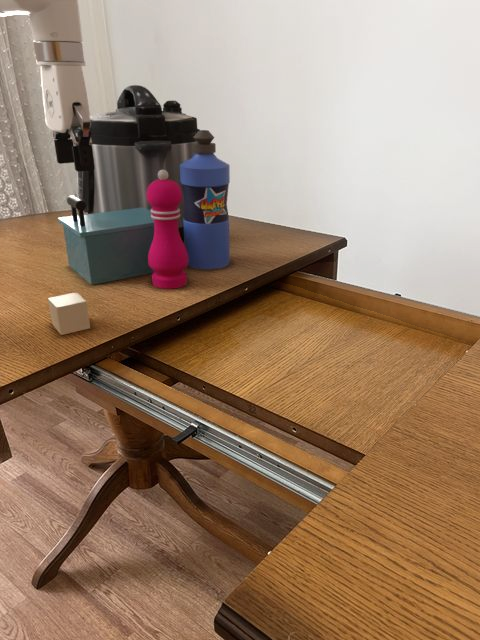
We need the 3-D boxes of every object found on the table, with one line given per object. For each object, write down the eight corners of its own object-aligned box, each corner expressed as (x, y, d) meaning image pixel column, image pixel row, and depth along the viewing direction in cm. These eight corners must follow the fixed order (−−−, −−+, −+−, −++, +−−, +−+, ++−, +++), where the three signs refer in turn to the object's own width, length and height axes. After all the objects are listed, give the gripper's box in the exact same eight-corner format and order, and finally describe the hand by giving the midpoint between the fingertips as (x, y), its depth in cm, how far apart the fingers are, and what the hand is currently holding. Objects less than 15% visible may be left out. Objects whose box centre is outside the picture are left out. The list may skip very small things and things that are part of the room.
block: (61, 335, 80) (56, 307, 78) (52, 324, 83) (47, 297, 81) (90, 328, 82) (86, 301, 80) (80, 318, 85) (76, 292, 83)
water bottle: (237, 265, 109) (237, 132, 98) (194, 272, 105) (188, 133, 94) (219, 253, 117) (217, 127, 105) (178, 258, 113) (171, 128, 101)
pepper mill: (195, 278, 102) (191, 167, 93) (180, 292, 96) (173, 174, 87) (160, 274, 104) (152, 165, 94) (142, 287, 97) (132, 171, 88)
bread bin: (91, 285, 98) (84, 237, 94) (69, 266, 107) (62, 221, 103) (174, 269, 107) (171, 224, 103) (147, 252, 116) (143, 211, 112)
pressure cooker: (118, 213, 147) (104, 82, 132) (219, 220, 142) (217, 85, 127) (60, 244, 120) (34, 85, 106) (181, 254, 116) (173, 88, 101)
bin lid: (80, 237, 94) (76, 205, 91) (58, 222, 103) (53, 192, 100) (171, 224, 103) (169, 195, 100) (143, 211, 112) (141, 184, 109)
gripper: (22, 55, 92) (39, 161, 99) (52, 54, 79) (70, 176, 87) (66, 56, 96) (80, 158, 103) (102, 55, 83) (115, 172, 91)
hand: (75, 166), depth 95 cm, fingers open, 9 cm apart
